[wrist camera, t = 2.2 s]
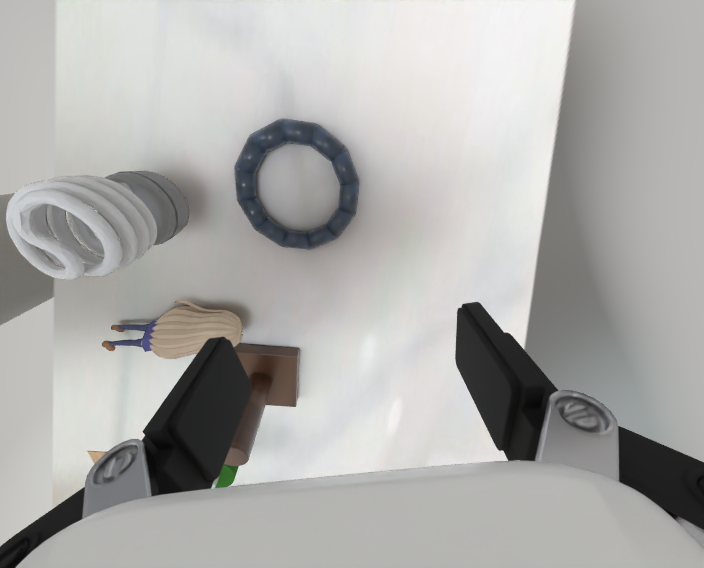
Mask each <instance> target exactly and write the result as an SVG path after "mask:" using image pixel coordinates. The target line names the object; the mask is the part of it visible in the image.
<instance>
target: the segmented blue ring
mask: <svg viewBox="0 0 704 568" xmlns="http://www.w3.org/2000/svg"><path fill="white" fill-rule="evenodd" d="M285 143H293V144H300V145H308V146H312V147H313V148H314V149H316V150H317V151H318V152H319V153H321V154H322V155H323V156H324V157H326V158H327V159H328V160H329V161H331V163H332V166H333V168H334V170H335V173H336V175H337V177H338V180H339V182H340V184H341V185H340V196H339V206H338V209H337V210H336V211H335V213H334V214H333V216H332V217H331V218H330V220H329V221H328V223H327V224H326V225H323V226H321V227H319V228H316V229H314V230H312V231H310V232H301V231H292V230H286V229H285V228H283V227H282V226H280V225H279V224H277V223H276V222H274V221H273V220H271V219H270V218H268V216H267V214H266V213H265V211H264V209H263V207H262V206H261V204H260V202H259V201H258V199H257V197H256V177H255V173H256V171H257V169H258V168H259V166H260V164H261V162H262V160H263V158H264V156H265V155H266V153H268V152H269V151H271V150H273V149H275V148H277V147H279V146H281V145H283V144H285ZM234 169H235V181H236V193H237V201H238V203H239V205H240V206H241V208H242V210H243V211H244V213H245V214H246V216H247V218H248V219H249V221H250V223H251V224H252V226H253V227H254V229H255V230H256V231H258V232H259V233H261V234H263V235H264V236H266V237H267V238H269V239H270V240H272V241H273V242H275V243H277V244H278V245H280V246H282V247H290V248H299V249H308V250H311V249H314V248H316V247H319V246H321V245H323V244H326V243H328V242H331V241H333V240H335V239H337V238H338V237H339V236H340V235H341V233H342V232H343V231H344V229H345V228H346V227H347V225H348V224H349V223H350V221H351V220H352V219H353V217H354V216H355V214H356V207H357V199H358V191H359V178H358V176H357V173H356V171H355V168H354V166H353V163H352V160H351V158H350V155H349V153H348V150H347V148H346V147H345V146H344V145H343V144H341V143H340V142H339V141H338V140H337V139H335V138H334V137H333V136H332V135H331V134H330V133H328V132H327V131H326V130H325V129H324V128H322V127H321V126H320V125H319V124H316V123H310V122H303V121H296V120H289V119H279V120H277V121H275V122H273V123H271V124H270V125H268V126H266V127H264V128H262V129H260V130H258V131H256V132H254V133H252V134H251V135H250V136H249V138H248V140H247V142H246V144H245V146H244V148H243V150H242V152H241V154H240V156H239V158H238V160H237V162H236V164H235V167H234Z"/></svg>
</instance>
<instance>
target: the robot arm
mask: <svg viewBox="0 0 704 568" xmlns="http://www.w3.org/2000/svg"><path fill="white" fill-rule="evenodd" d="M455 359H456V364H457V367H458V369H459V372H460V374H461V376H462V378H463V380H464V382H465V384H466V386H467V388H468V390H469V392H470V394H471V396H472V398H473V400H474V402H475V404H476V406H477V409H478V411H479V413H480V415H481V417H482V419H483V421H484V423H485V425H486V427H487V429H488V431H489V433H490V435H491V437H492V439H493V441H494V444H495V445H496V447H497V449H498V450H499V451H501V450H503V451H504V453H505V455H506V457H507V459H508V461H494V462H481V463H468V464H455V465H442V466H432V467H421V468H410V469H400V470H389V471H379V472H368V473H358V474H348V475H338V476H328V477H318V478H308V479H298V480H288V481H278V482H269V483H259V484H250V485H240V486H231V487H221V488H212V489H211V487H212V485H213V482H214V480H216V479H217V478H218V477H219V475H220V473H221V470H222V468H223V465H224V462H225V460H226V457H227V455H228V452H229V449H230V447H231V444H232V442H233V439H234V436H235V434H236V431H237V428H238V426H239V423H240V421H241V418H242V415H243V413H244V410H245V408H246V405H247V402H248V400H249V397H250V395H251V391H252V385H251V382H250V380H249V378H248V376H247V374H246V372H245V370H244V368H243V366H242V363H241V361H240V359H239V357H238V355H237V353H236V351H235V349H234V347H233V345H232V343H231V341H230V340H228V339H226V338H225V337H216V338H210V339H208V340H207V341H206V342H205V344H204V345H203V347H202V348H201V350H200V351H199V352H198V354H197V355H196V357H195V358H194V359H193V361H192V362H191V364H190V365H189V367H188V368H187V369H186V371H185V372H184V374H183V375H182V376H181V378H180V379H179V381H178V382H177V384H176V385H175V386H174V388H173V389H172V391H171V392H170V393H169V395H168V396H167V398H166V399H165V401H164V402H163V403H162V405H161V406H160V408H159V409H158V410H157V412H156V413H155V415H154V416H153V418H152V419H151V420H150V422H149V423H148V425H147V426H146V427H145V429H144V430H143V433H144V434H145V437H144V438H143V439H142V441H141V440H139V439H131V440H128V441H124V442H122V443H120V444H118V445H117V446H115V447H113V448H112V449H111V450H109V451H108V452H107V453H105V454H104V455H103V456H102V457H101V458H100V459H99V460H98V461H97V462H96V463H95V465H94V466H93V467H92V468H91V470H90V472H89V474H88V475H87V479H86V482H85V487H84V488H82V489H81V490H80V491H78V492H77V493H75V494H74V495H72V496H71V497H69V498H68V499H67V500H65V501H64V502H62V503H61V504H59V505H58V506H56V507H55V508H54V509H52V510H51V511H49V512H48V513H46V514H45V515H43V516H42V517H41V518H39V519H38V520H36V521H35V522H33V523H32V524H30V525H29V526H28V527H26V528H25V529H23V530H22V531H20V532H19V533H17V534H16V535H15V536H13V537H12V538H11V539H9V540H8V541H7V542H6V543H4V544H3V545H2V546H1V547H0V568H704V462H701V461H699V460H697V459H694V458H692V457H690V456H688V455H685V454H683V453H680V452H678V451H676V450H673V449H671V448H669V447H667V446H664V445H661V444H659V443H657V442H655V441H652V440H650V439H648V438H645V437H643V436H641V435H639V434H636V433H634V432H632V431H629V430H627V429H625V428H622V427H620V426H618V424H617V420H616V418H615V417H614V415H613V414H612V412H611V411H610V410H609V409H608V408H607V407H606V406H604V404H602V403H600V402H599V401H598V400H596V399H595V398H593V397H590V396H588V395H586V394H584V393H580V392H576V391H570V390H561V391H558V390H557V388H556V387H555V386H554V385H553V384H552V383H551V381H550V380H549V379H548V378H547V377H546V375H545V374H544V373H543V372H542V371H541V369H540V368H539V367H538V366H537V365H536V364H535V362H534V361H533V360H532V359H531V358H530V356H529V355H528V354H527V353H526V352H525V351H524V349H523V348H522V347H521V346H520V345H519V343H518V342H517V341H516V340H515V339H514V338H513V336H512V335H510V334H509V333H504V332H503V331H502V330H501V328H500V327H499V326H498V325H497V323H496V322H495V321H494V320H493V319H492V317H491V316H490V315H489V314H488V312H487V311H486V310H485V309H484V308H483V306H482V305H481V304H480V303H479V302H474V303H466V304H463V305H462V308H458V311H457V333H456V357H455ZM514 460H520V461H514Z"/></svg>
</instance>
